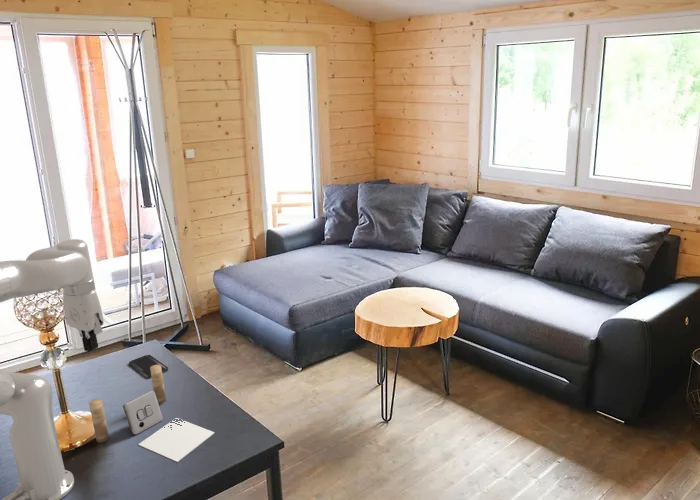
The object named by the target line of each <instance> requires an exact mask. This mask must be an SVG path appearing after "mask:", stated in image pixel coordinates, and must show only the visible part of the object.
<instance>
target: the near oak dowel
mask: <svg viewBox="0 0 700 500" xmlns="http://www.w3.org/2000/svg"><path fill="white" fill-rule="evenodd" d="M103 403H104V402H103V400H102V398H94V399H92V400H90V401H89V402H88V404H89V408H90V409H89V410H90V415H91V420H92V424H93V429H94V436H95V440H96V442H97V443H99V444H100V443H105V442H107V441H108V440H109V439H110V436H109V430H108V426H107V421H106V420H107V419H106V415H105V409H104V404H103ZM108 438H109V439H108Z"/></svg>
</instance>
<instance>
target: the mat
mask: <svg viewBox="0 0 700 500" xmlns="http://www.w3.org/2000/svg"><path fill="white" fill-rule="evenodd" d="M174 419H178V420H179V419H180V418H178V417H176V418H174ZM174 419H173V420H174ZM173 420H171V421H172V422H175V421H176V420H175V421H173ZM181 420H182V421H183V419H181ZM178 422H180V423H178ZM178 422H175V423H177V424H180V425H182V426H180V425H177V424H175V423H170V422H167V424H165V425H164V426H163V427H161V428H159V429H158V430H157V431H155V432H154V433H153V434H151V435H150V436H148V437H146V438H145V439H143V440H142V441H141V442H140V443H138V446H140V447H142V448H145V449H147V450H149V451H151V452H153V453H156V454H158V455H160V456H162V457H165V458H167V459H170V460H171V461H174V462H177V463H179V462H180V461H181V460H182V459H183V458H185V457H186V456H188V455H189V454H190V453H191V452H193V451H194V450H195V449H197V447H199V446H201V445H202V444H203V443H204V442H206V441H207V440H208V439H209V438H210V437H212V436H213V435H214V434H215V431H212V430H210V429H207V428H204V427H202V426H199V425H197V424H194V423H192V422H189V421H187V420H184V421H183V422H181V421H178ZM184 422H185V423H184ZM170 425H172V426H170ZM168 426H169V427H168ZM164 427H165V428H164ZM170 427H172V428H170ZM171 429H172V430H171Z"/></svg>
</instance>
